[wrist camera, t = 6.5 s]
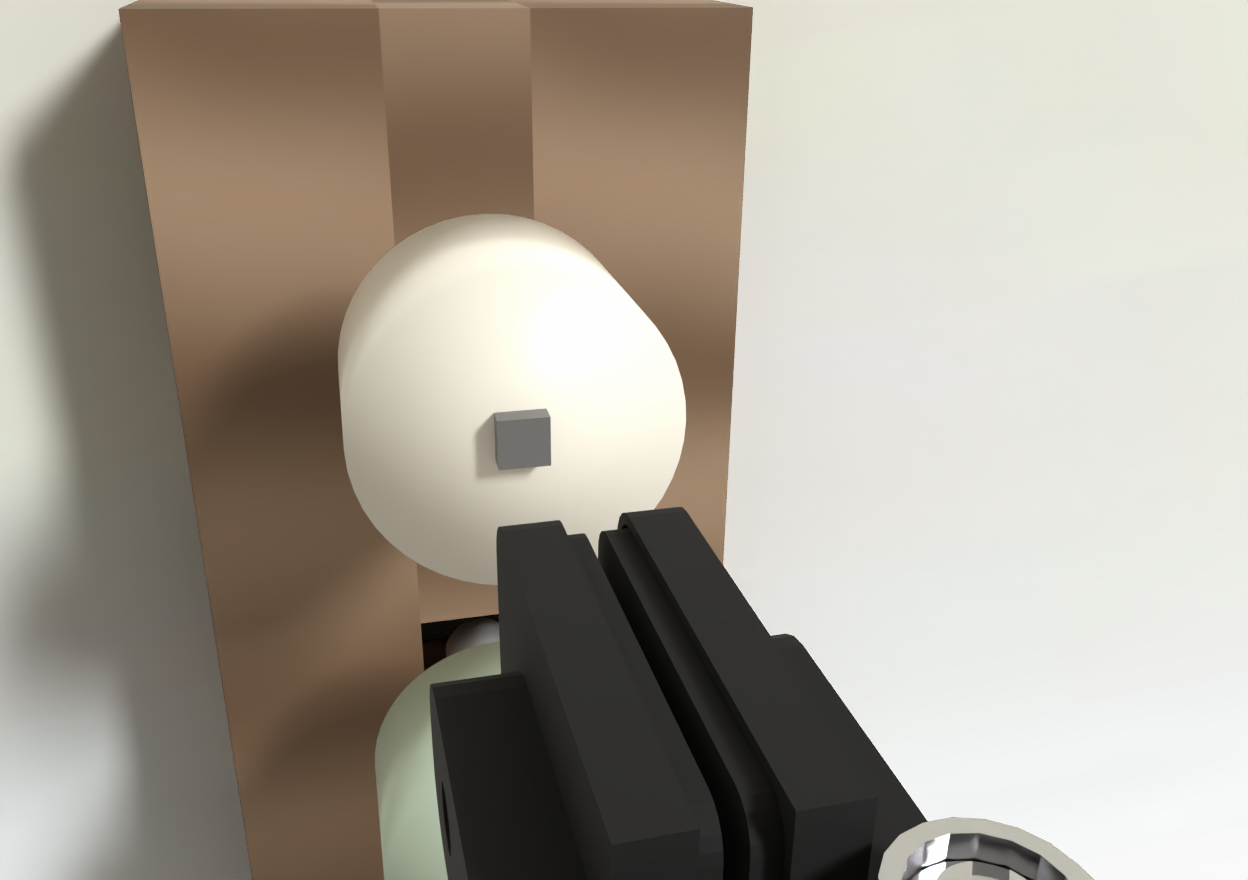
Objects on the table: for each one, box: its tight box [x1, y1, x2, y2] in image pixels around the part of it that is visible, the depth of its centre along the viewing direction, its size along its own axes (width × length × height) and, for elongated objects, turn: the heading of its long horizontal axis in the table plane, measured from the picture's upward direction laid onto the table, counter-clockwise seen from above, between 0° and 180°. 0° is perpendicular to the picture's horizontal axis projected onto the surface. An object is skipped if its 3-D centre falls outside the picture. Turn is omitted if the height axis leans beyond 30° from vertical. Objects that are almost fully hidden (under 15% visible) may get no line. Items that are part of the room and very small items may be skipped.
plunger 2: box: [338, 214, 686, 585], centre depth 18 cm, size 5×5×7 cm
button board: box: [119, 0, 753, 880], centre depth 25 cm, size 25×10×3 cm, turn 1°
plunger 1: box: [375, 618, 501, 880], centre depth 21 cm, size 5×5×7 cm
